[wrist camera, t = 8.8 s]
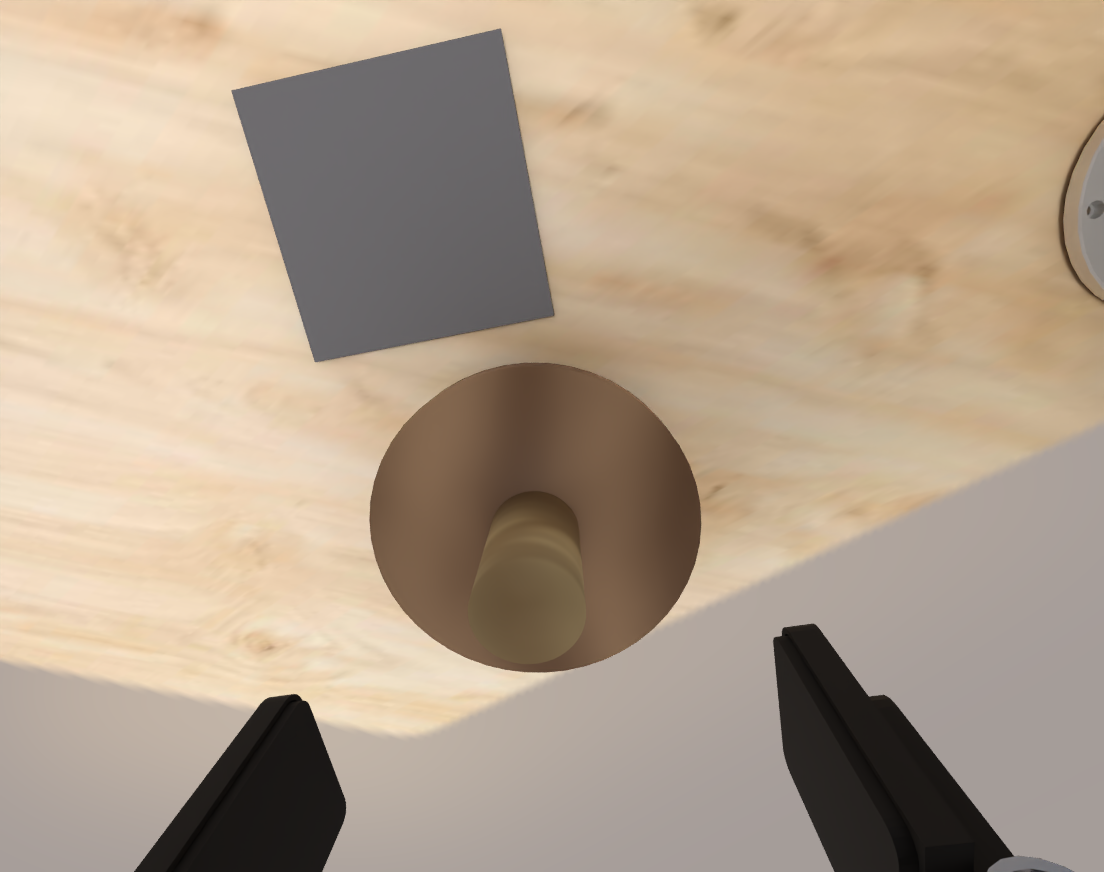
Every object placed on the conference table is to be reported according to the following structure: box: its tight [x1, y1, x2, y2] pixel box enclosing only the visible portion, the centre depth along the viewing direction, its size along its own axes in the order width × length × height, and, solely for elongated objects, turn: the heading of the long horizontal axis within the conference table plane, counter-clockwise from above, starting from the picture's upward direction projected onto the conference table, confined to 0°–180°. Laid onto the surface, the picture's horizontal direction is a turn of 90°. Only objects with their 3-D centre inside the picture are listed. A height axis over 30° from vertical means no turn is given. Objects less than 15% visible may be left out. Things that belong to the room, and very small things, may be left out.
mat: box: [232, 29, 554, 362], centre depth 28 cm, size 14×14×1 cm
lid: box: [370, 363, 701, 672], centre depth 17 cm, size 12×12×6 cm
